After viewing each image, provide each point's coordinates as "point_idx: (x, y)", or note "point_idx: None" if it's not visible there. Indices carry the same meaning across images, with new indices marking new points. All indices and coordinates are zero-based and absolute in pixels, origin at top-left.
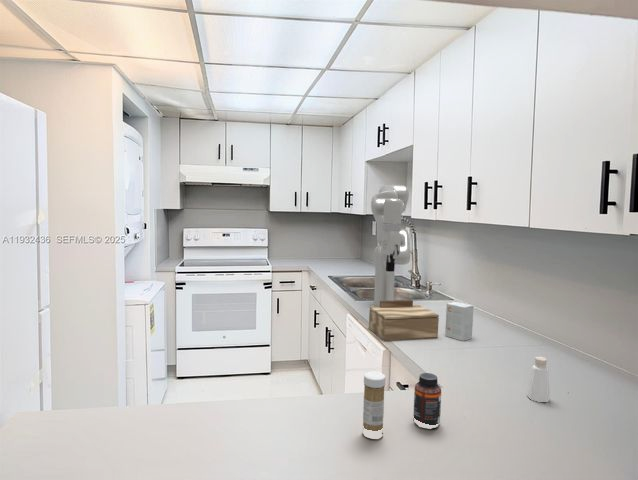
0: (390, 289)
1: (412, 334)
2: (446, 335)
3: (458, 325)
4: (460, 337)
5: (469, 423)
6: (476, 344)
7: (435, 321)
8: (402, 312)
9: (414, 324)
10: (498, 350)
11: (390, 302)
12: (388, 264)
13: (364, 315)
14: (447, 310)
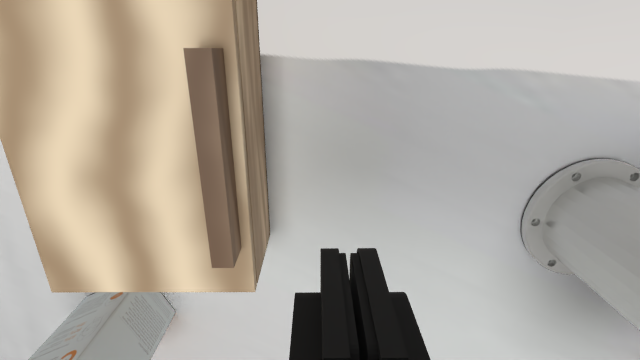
0: (615, 293)
1: None
2: None
3: (69, 326)
4: (87, 299)
5: None
6: (56, 316)
7: None
8: (85, 137)
9: None
10: (5, 343)
11: (194, 121)
12: (321, 332)
13: (493, 69)
14: (80, 349)
